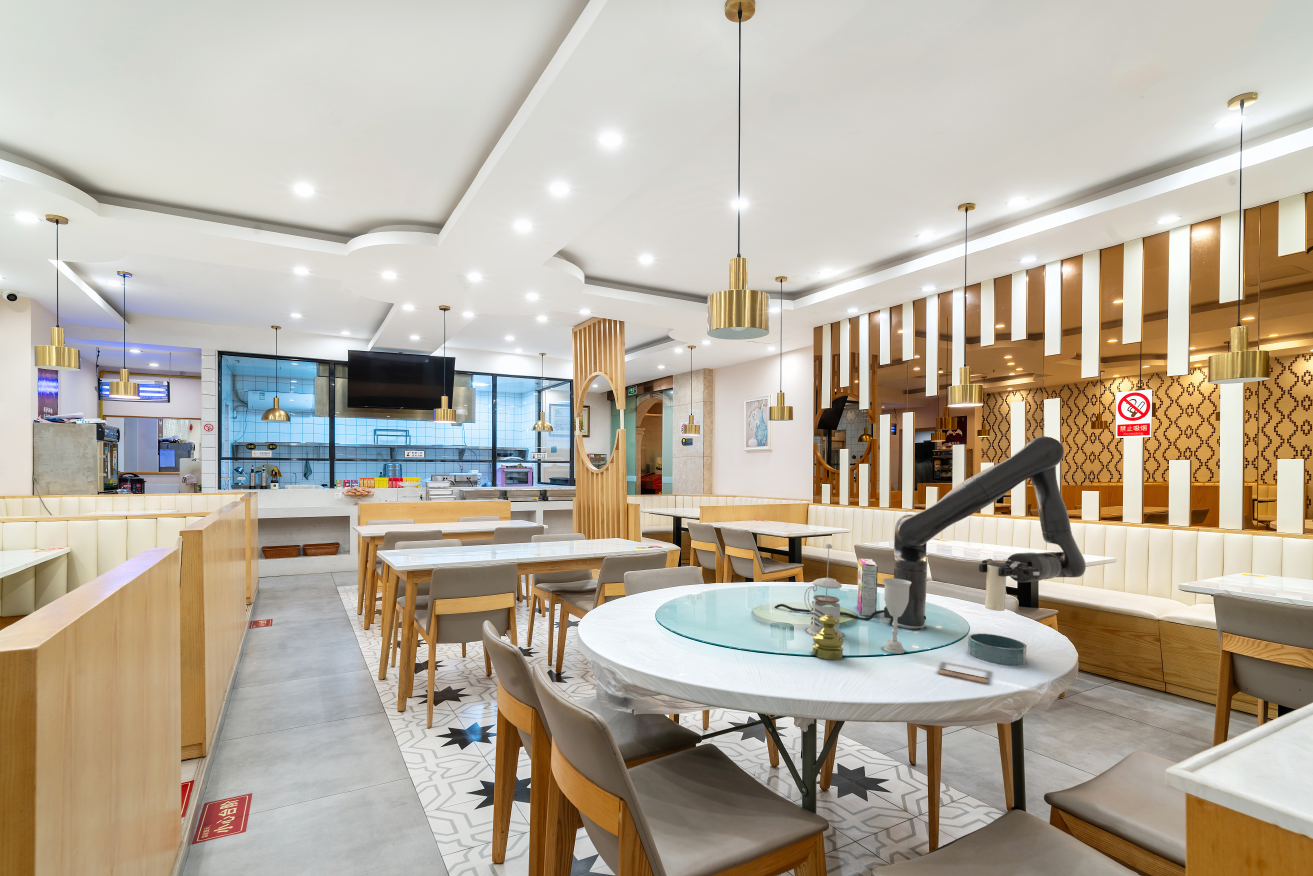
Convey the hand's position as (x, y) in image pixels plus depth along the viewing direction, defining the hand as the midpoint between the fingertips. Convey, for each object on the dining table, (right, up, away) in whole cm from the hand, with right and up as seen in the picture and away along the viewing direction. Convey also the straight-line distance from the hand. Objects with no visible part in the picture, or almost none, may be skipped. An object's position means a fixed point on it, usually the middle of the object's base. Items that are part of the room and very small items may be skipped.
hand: (990, 570), depth 156 cm
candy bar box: (-17, -23, +44) cm, 52 cm away
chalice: (-23, -22, +5) cm, 32 cm away
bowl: (+3, -23, +2) cm, 23 cm away
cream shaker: (+2, -10, +1) cm, 10 cm away
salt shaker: (-42, -21, -2) cm, 47 cm away
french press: (-38, -22, +18) cm, 47 cm away
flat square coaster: (-12, -22, -10) cm, 27 cm away
